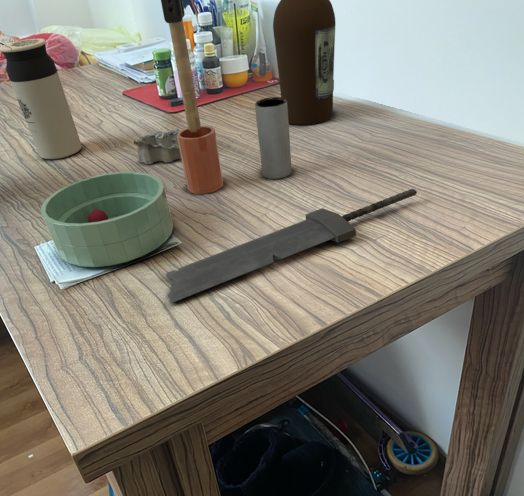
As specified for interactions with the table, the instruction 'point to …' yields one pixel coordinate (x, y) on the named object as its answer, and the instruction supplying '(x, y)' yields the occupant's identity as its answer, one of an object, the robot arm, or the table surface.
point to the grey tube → (274, 137)
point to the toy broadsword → (269, 248)
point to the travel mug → (41, 98)
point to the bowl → (119, 218)
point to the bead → (97, 216)
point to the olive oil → (305, 58)
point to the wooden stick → (185, 75)
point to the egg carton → (158, 146)
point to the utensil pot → (200, 160)
